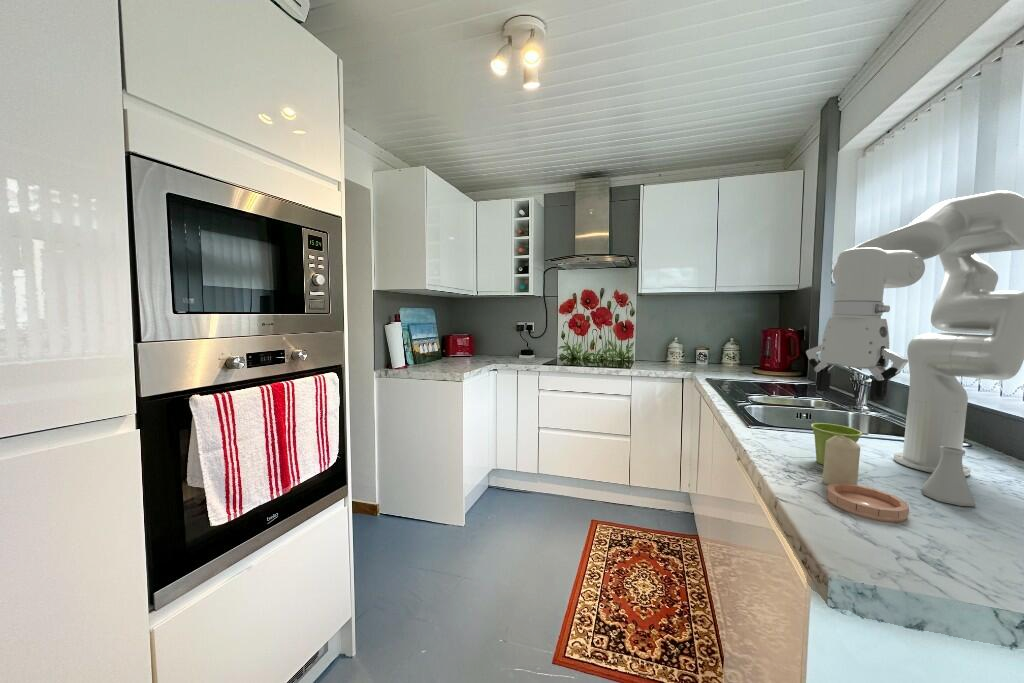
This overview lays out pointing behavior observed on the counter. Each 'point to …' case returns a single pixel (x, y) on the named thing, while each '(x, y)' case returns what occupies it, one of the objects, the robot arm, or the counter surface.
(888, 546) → the counter surface
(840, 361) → the robot arm
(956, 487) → the flask
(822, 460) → the plant pot
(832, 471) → the candle
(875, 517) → the candle dish
